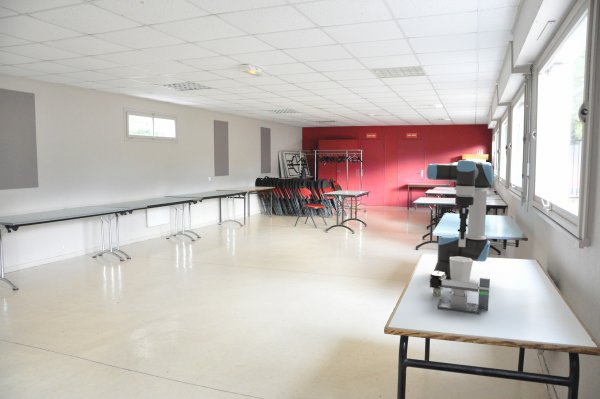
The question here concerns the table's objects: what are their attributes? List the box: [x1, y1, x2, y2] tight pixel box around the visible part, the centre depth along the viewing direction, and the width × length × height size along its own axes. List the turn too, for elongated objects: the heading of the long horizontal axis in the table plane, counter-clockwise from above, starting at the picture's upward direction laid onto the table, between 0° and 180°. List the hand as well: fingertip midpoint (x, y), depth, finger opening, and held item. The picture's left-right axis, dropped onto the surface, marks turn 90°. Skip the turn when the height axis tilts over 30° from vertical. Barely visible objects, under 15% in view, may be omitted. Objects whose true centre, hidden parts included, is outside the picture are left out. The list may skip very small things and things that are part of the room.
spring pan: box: [441, 279, 490, 296], centre depth 188 cm, size 19×9×6 cm, turn 68°
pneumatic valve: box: [429, 271, 447, 298], centre depth 205 cm, size 6×12×12 cm, turn 148°
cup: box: [450, 256, 474, 294], centre depth 210 cm, size 11×10×17 cm
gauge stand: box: [437, 277, 491, 315], centre depth 188 cm, size 20×11×14 cm, turn 68°
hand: (462, 243), depth 188 cm, fingers open, 13 cm apart
